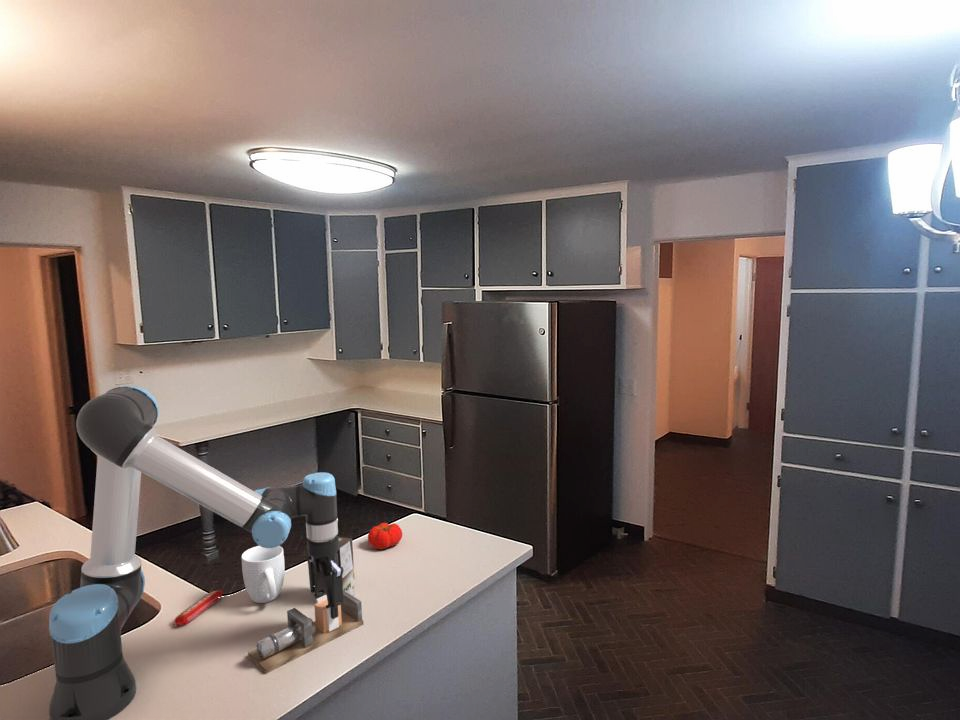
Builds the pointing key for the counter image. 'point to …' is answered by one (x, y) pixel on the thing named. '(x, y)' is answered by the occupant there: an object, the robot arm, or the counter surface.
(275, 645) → the shaft
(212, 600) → the candy bar
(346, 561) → the coffee box
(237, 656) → the counter surface
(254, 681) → the counter surface
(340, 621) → the block
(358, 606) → the rail
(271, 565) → the mug
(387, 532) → the tomato
